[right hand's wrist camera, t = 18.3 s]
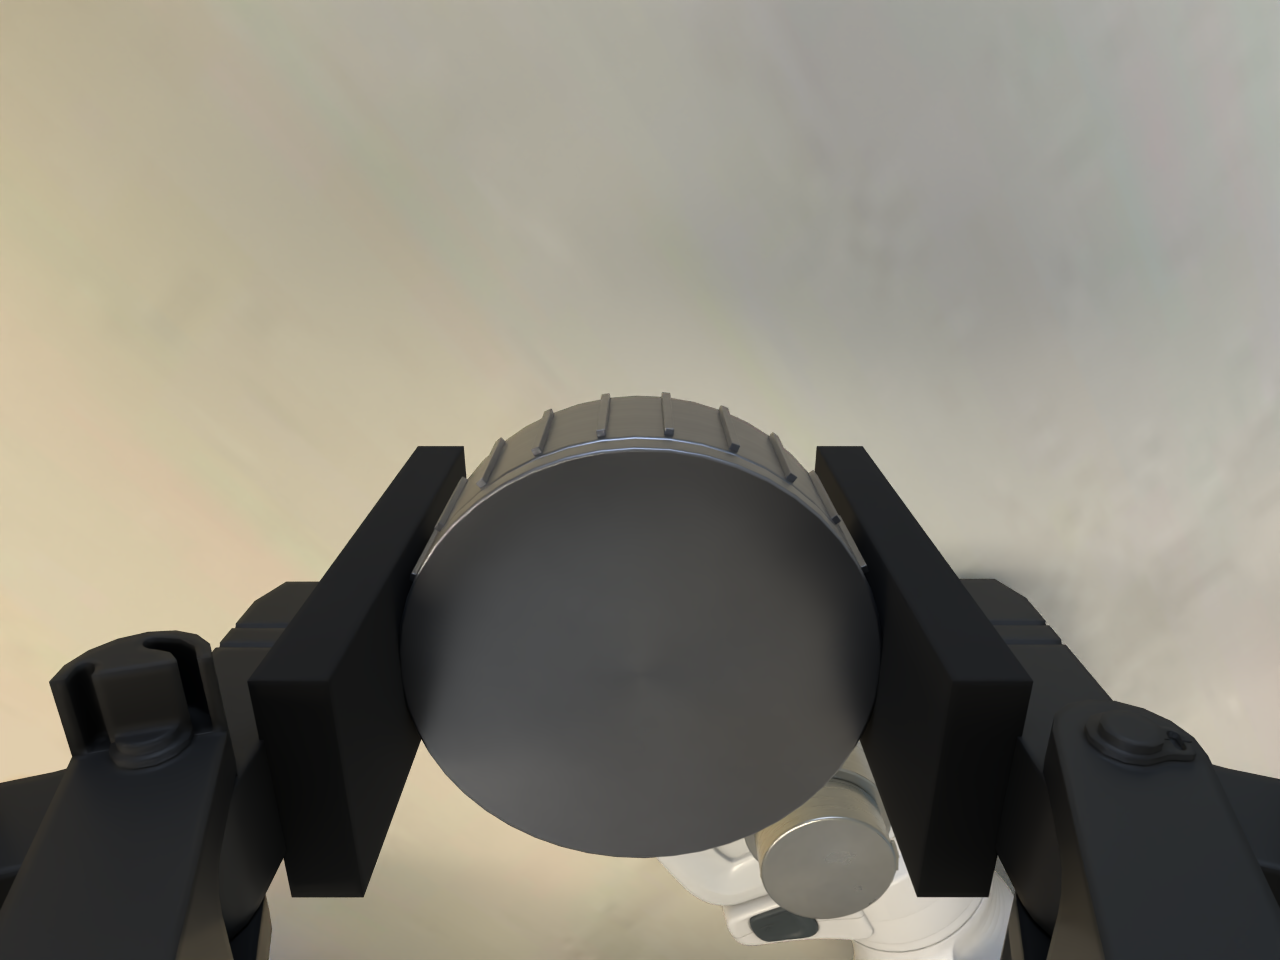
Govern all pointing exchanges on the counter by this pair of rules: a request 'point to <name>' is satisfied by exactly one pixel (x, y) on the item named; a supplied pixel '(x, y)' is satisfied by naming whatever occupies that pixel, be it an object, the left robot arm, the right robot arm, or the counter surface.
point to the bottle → (830, 848)
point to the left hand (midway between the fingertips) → (760, 630)
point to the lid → (640, 631)
